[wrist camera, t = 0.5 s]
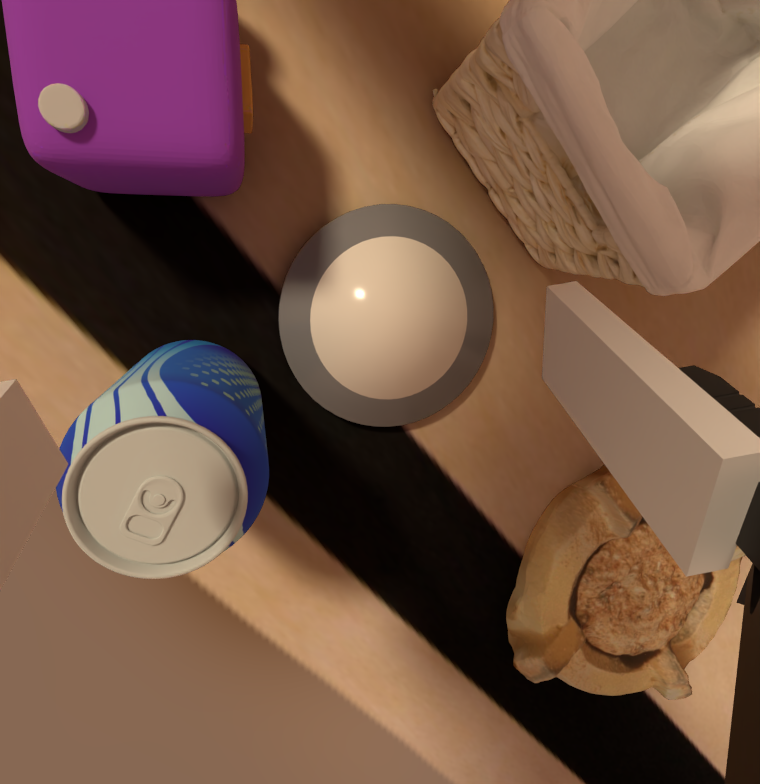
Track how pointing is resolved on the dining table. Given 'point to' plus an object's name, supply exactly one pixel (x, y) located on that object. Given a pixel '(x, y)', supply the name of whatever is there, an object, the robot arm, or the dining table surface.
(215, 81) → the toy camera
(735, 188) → the storage basket
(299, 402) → the dining table surface
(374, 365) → the coaster plate
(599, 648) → the ashtray
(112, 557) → the beer can
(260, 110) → the dining table surface
